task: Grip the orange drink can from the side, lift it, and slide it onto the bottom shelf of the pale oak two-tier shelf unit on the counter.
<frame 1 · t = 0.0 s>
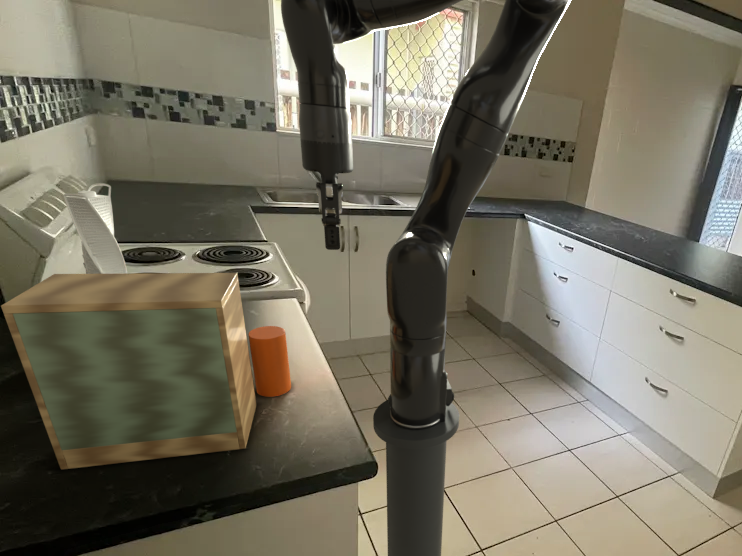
hand: (332, 242, 79), 26 cm above the worktop, tool pointing down, fingers open, 8 cm apart
box grater: (117, 312, 107), on the worktop
watch: (147, 331, 100), on the worktop
can: (274, 388, 84), on the worktop
shelf unit: (170, 433, 71), on the worktop
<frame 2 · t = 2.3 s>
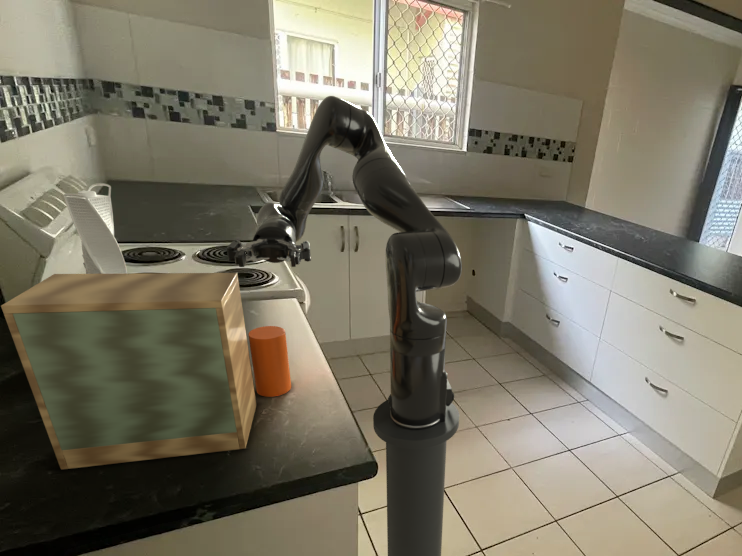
hand: (267, 261, 85), 20 cm above the worktop, tool horizontal, fingers open, 8 cm apart
nothing on the worktop moved.
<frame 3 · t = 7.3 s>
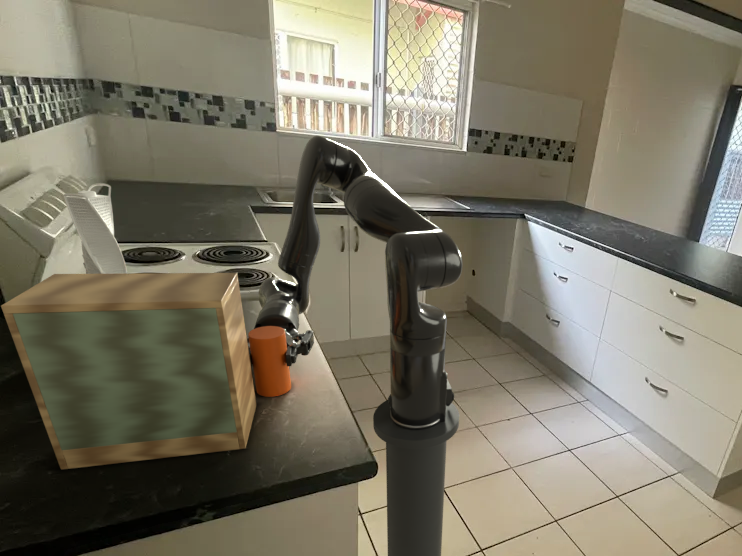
hand: (268, 362, 79), 7 cm above the worktop, tool horizontal, fingers closed on can, 5 cm apart
can: (274, 388, 84), on the worktop, touching gripper
everything else where it was.
when the fingers open (10 cm above the worktop, at t = 16.8 s): can stays where it is, resting on shelf unit.
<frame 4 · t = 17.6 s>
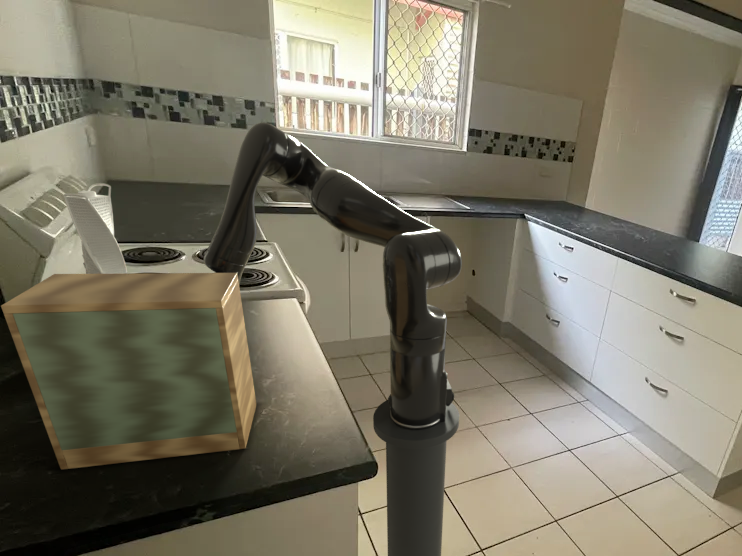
hand: (156, 376, 66), 10 cm above the worktop, tool horizontal, fingers open, 8 cm apart
can: (169, 410, 71), point 3 cm above the worktop, touching shelf unit
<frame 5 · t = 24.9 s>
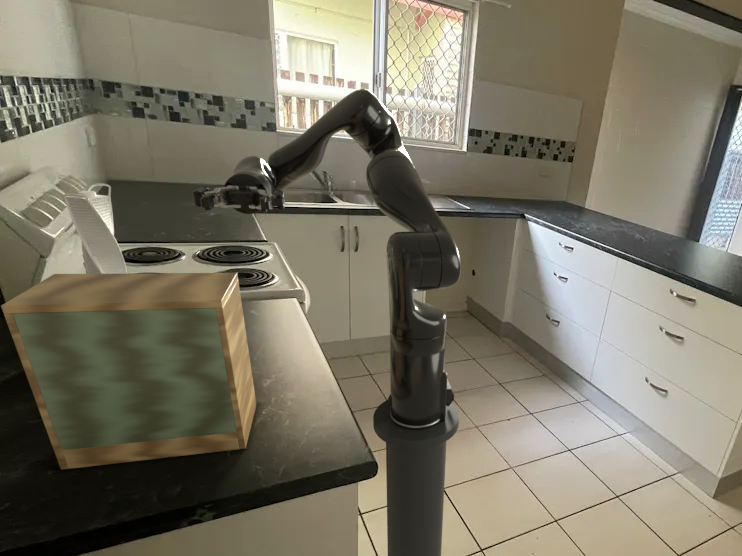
hand: (235, 205, 80), 30 cm above the worktop, tool horizontal, fingers open, 8 cm apart
at the end: can inside the target area on the shelf unit (1.9 cm from its centre), point 3.0 cm above the shelf unit's base; can tilted 0°; the gripper is holding nothing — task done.
